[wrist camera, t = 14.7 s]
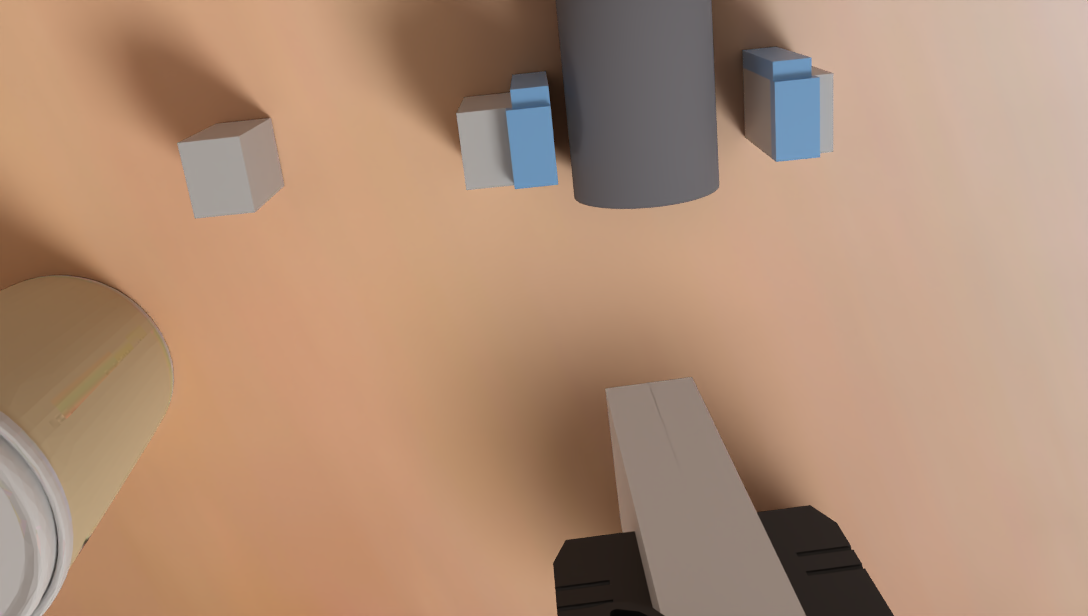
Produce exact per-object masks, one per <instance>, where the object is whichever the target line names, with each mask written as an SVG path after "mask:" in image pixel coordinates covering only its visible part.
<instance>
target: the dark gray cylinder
mask: <svg viewBox="0 0 1088 616" xmlns="http://www.w3.org/2000/svg"><path fill="white" fill-rule="evenodd" d="M556 9H557V20H558V30H559V41H560V51H561V62H562V72H563V83H564V93H565V103H566V114H567V124H568V135H569V145H570V156H571V166H572V177H573V187H574V197H575V199H576V201H578V202H579V203H582V204H585V205H588V206H593V207H600V208H612V209H636V208H651V207H660V206H667V205H674V204H679V203H684V202H688V201H692V200H696V199H699V198H702V197H705V196H707V195H709V194H711V193H713V192H715V191H716V190H717V189H718V188H719V169H718V145H717V121H716V98H715V74H714V50H713V27H712V3H711V0H556Z"/></svg>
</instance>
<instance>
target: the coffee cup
mask: <svg viewBox="0 0 1088 616" xmlns="http://www.w3.org/2000/svg"><path fill="white" fill-rule="evenodd" d="M173 383H174V378H173V364H172V359H171V356H170V352H169V349H168V346H167V344H166V341H165V339H164V337H163V336H162V333H161V332H160V330H159V329H158V327H157V326H156V324H155V323H154V321H153V320H152V319H151V318H150V317H149V316H148V315H147V313H146V312H145V311H144V310H143V309H142V308H141V307H140V306H139V305H138V304H136V303H135V302H134V301H133V300H131V299H130V298H129V297H127V296H126V295H124V294H122V293H121V292H119V291H118V290H116V289H114V288H112V287H109V286H107V285H105V284H103V283H100V282H97V281H94V280H90V279H87V278H82V277H76V276H68V275H52V276H42V277H37V278H33V279H29V280H26V281H23V282H20V283H17V284H15V285H12V286H10V287H8V288H5V289H3V290H1V291H0V616H42V615H43V614H44V613H45V611H46V610H47V609H48V608H49V607H50V605H51V604H52V602H53V600H54V599H55V597H56V596H57V594H58V592H59V591H60V589H61V587H62V585H63V582H64V580H65V578H66V576H67V573H68V570H69V568H70V567H71V565H72V564H73V562H74V561H75V559H76V558H77V556H78V555H79V553H80V552H81V550H82V549H83V547H84V546H85V544H86V542H87V541H88V539H89V538H90V536H91V534H92V533H93V531H94V530H95V528H96V527H97V525H98V523H99V522H100V520H101V519H102V517H103V515H104V514H105V512H106V511H107V509H108V508H109V506H110V504H111V503H112V501H113V500H114V498H115V497H116V495H117V493H118V492H119V490H120V488H121V487H122V485H123V484H124V482H125V480H126V479H127V477H128V476H129V474H130V472H131V471H132V469H133V467H134V466H135V464H136V463H137V461H138V459H139V458H140V456H141V455H142V453H143V451H144V450H145V448H146V446H147V445H148V443H149V442H150V440H151V438H152V437H153V435H154V433H155V432H156V430H157V428H158V426H159V424H160V423H161V421H162V419H163V417H164V416H165V414H166V411H167V409H168V407H169V404H170V401H171V397H172V391H173Z"/></svg>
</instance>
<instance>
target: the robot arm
mask: <svg viewBox="0 0 1088 616" xmlns="http://www.w3.org/2000/svg"><path fill="white" fill-rule="evenodd" d="M605 391H606V400H607V408H608V417H609V425H610V434H611V443H612V451H613V460H614V468H615V477H616V486H617V494H618V503H619V511H620V520H621V527H622V532H623V533H616V534H609V535H601V536H594V537H586V538H579V539H571V540H566V541H565V543H564V545H563V546H562V548H561V550H560V552H559V554H558V555H557V557H556V559H555V561H554V563H553V566H554V578H555V589H556V602H557V615H558V616H894V615H893V613H892V612H891V610H890V608H889V607H888V605H887V604H886V602H885V600H884V599H883V597H882V596H881V594H880V592H879V591H878V589H877V587H876V586H875V584H874V583H873V581H872V579H871V578H870V576H869V574H868V573H867V571H866V570H865V569H863V567H862V563H861V562H860V560H859V558H858V557H857V555H856V553H855V552H854V550H851V545H850V544H849V542H848V540H847V539H846V537H845V536H844V534H843V532H842V531H841V529H840V527H839V526H838V524H837V523H836V522H835V521H833V520H832V519H830V518H829V517H827V516H826V515H824V514H822V513H821V512H819V511H818V510H816V509H815V508H813V507H812V506H810V505H809V506H801V507H794V508H786V509H779V510H771V511H764V512H756V510H755V508H754V506H753V504H752V501H751V499H750V497H749V495H748V493H747V491H746V489H745V487H744V485H743V483H742V481H741V478H740V476H739V474H738V472H737V470H736V468H735V466H734V464H733V462H732V460H731V457H730V455H729V453H728V451H727V449H726V447H725V445H724V443H723V441H722V439H721V437H720V434H719V432H718V430H717V428H716V426H715V424H714V422H713V420H712V418H711V416H710V414H709V411H708V409H707V407H706V405H705V403H704V401H703V399H702V397H701V395H700V393H699V390H698V388H697V386H696V384H695V382H694V380H693V378H692V377H688V378H680V379H673V380H665V381H658V382H650V383H643V384H635V385H628V386H620V387H613V388H605Z"/></svg>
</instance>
